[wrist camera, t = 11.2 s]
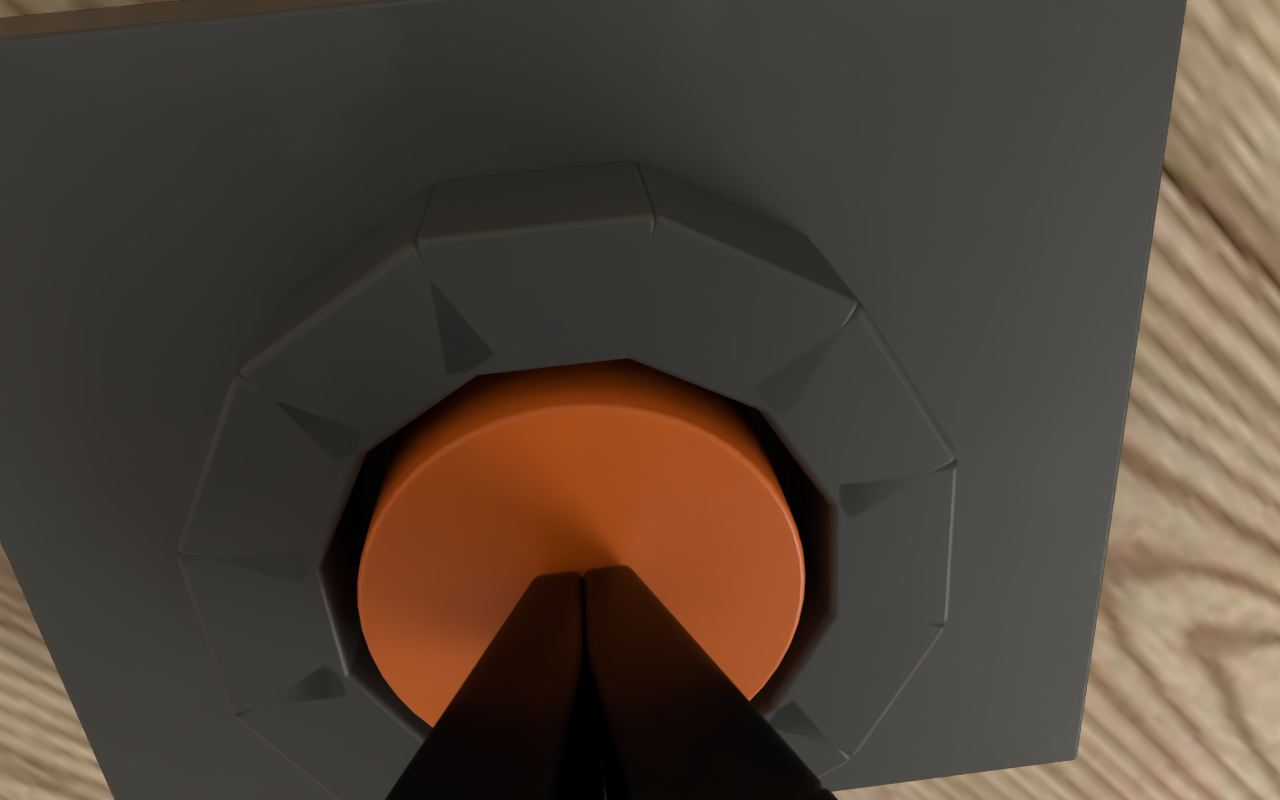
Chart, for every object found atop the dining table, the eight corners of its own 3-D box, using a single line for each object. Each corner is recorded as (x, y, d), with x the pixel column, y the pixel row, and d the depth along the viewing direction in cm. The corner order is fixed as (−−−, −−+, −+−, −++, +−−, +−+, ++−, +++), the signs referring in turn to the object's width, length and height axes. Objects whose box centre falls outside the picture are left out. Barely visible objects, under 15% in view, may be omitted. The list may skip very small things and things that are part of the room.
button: (421, 673, 12) (403, 795, 10) (345, 348, 10) (308, 435, 8) (773, 629, 12) (809, 743, 10) (762, 302, 10) (803, 379, 8)
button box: (210, 727, 15) (93, 1024, 11) (-48, 22, 11) (-396, 97, 7) (996, 628, 16) (1151, 879, 12) (1060, -87, 11) (1348, -76, 7)
